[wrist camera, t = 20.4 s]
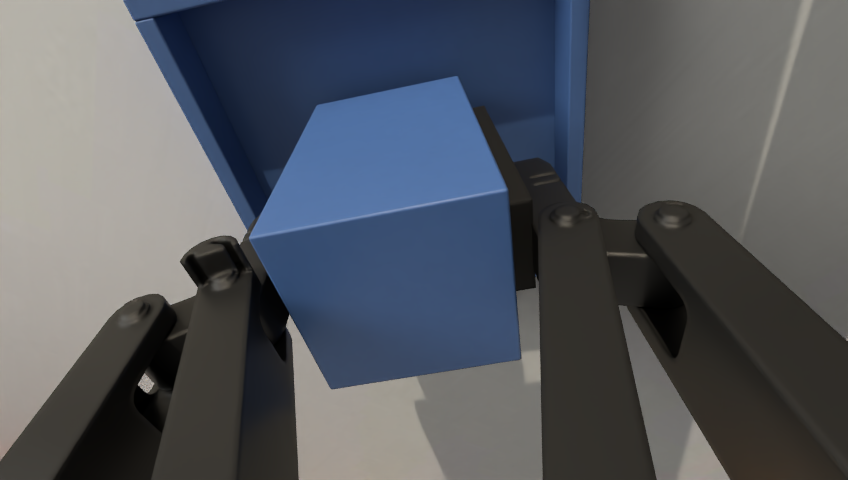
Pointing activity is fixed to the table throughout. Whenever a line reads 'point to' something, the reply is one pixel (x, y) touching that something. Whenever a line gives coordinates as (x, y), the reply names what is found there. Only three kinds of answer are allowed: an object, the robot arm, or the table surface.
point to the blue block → (394, 238)
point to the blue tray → (365, 72)
